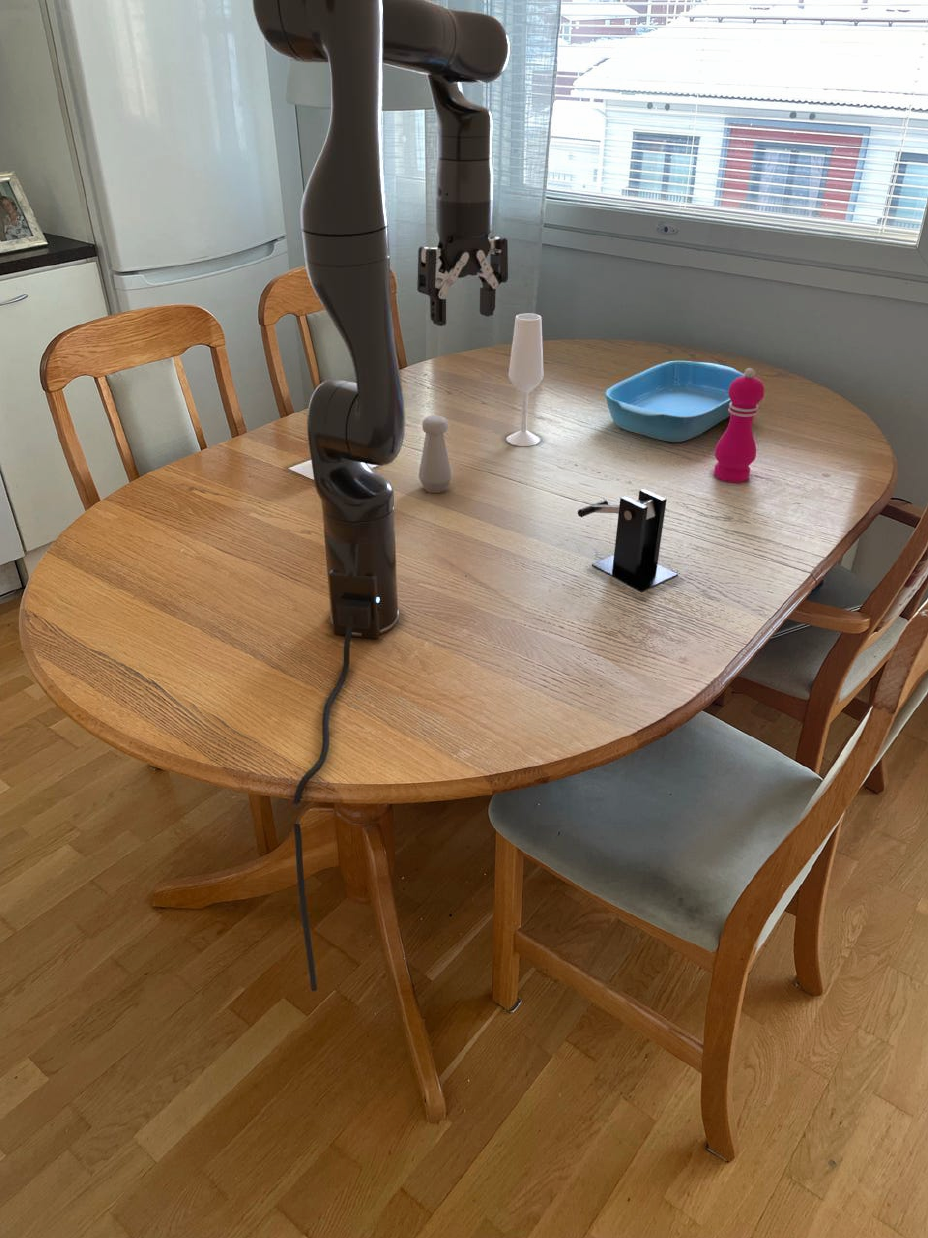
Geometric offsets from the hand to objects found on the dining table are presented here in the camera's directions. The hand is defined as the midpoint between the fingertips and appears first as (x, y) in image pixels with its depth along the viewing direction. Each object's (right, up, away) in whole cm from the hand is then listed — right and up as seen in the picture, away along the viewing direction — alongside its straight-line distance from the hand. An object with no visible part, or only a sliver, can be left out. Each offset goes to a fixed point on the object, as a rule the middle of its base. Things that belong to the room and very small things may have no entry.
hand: (463, 319), depth 131 cm
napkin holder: (-23, -14, +41) cm, 49 cm away
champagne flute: (+12, -7, +53) cm, 54 cm away
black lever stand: (+26, -36, +7) cm, 45 cm away
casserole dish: (+45, 0, +63) cm, 78 cm away
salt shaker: (-5, -19, +33) cm, 39 cm away
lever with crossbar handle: (+23, -27, +6) cm, 36 cm away
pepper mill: (+49, -16, +39) cm, 65 cm away
